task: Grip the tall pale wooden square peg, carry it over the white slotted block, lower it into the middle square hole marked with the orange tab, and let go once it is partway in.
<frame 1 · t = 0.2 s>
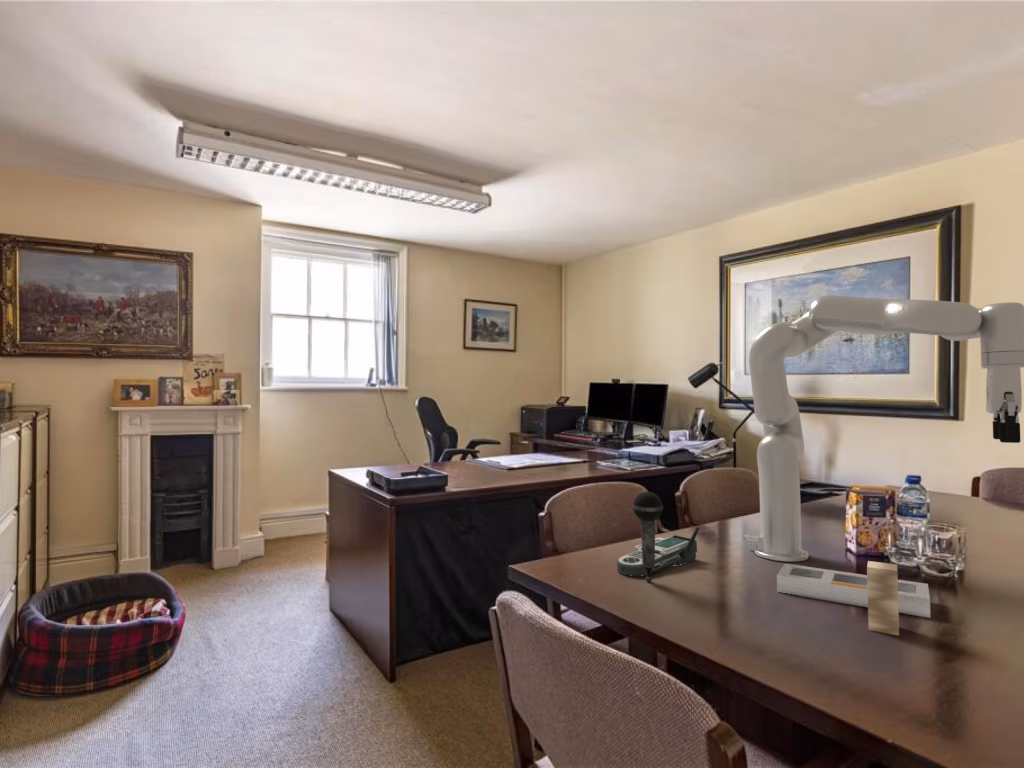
hand: (1006, 440, 121), 31 cm above the table, tool pointing down, fingers open, 9 cm apart
peg: (883, 628, 100), on the table
communication device: (653, 567, 140), on the table
microphone: (648, 582, 127), on the table
white slotted block: (850, 596, 116), on the table
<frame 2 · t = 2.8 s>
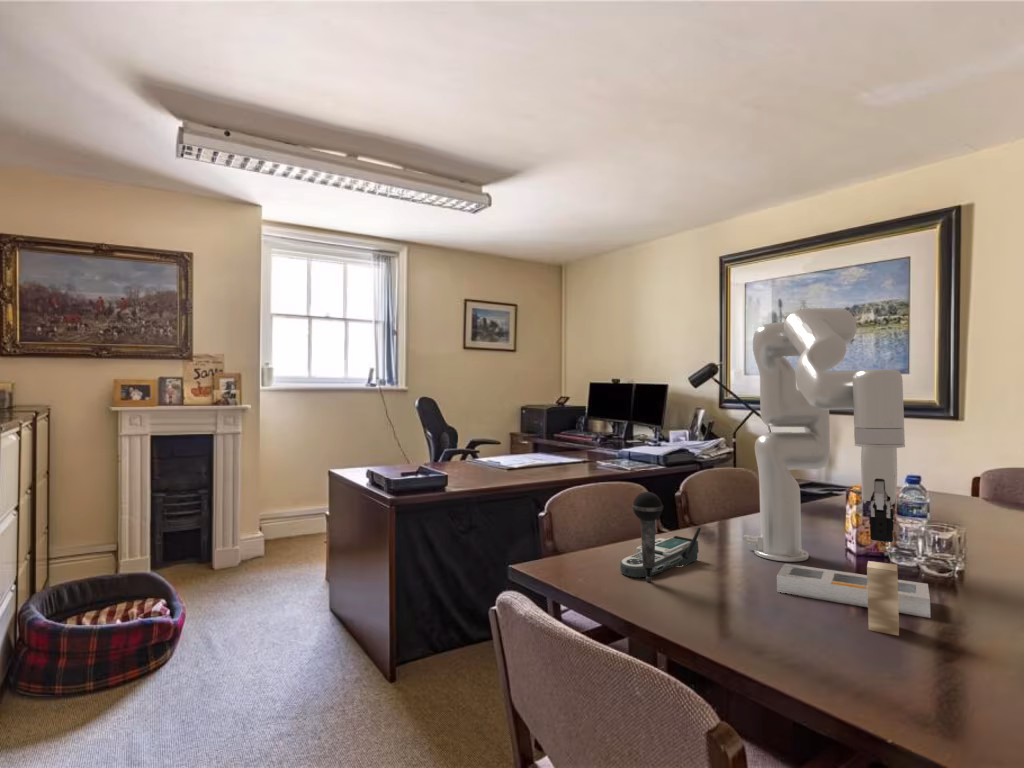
hand: (882, 535, 100), 16 cm above the table, tool pointing down, fingers open, 9 cm apart
communication device: (655, 568, 139), on the table
everything else where it was.
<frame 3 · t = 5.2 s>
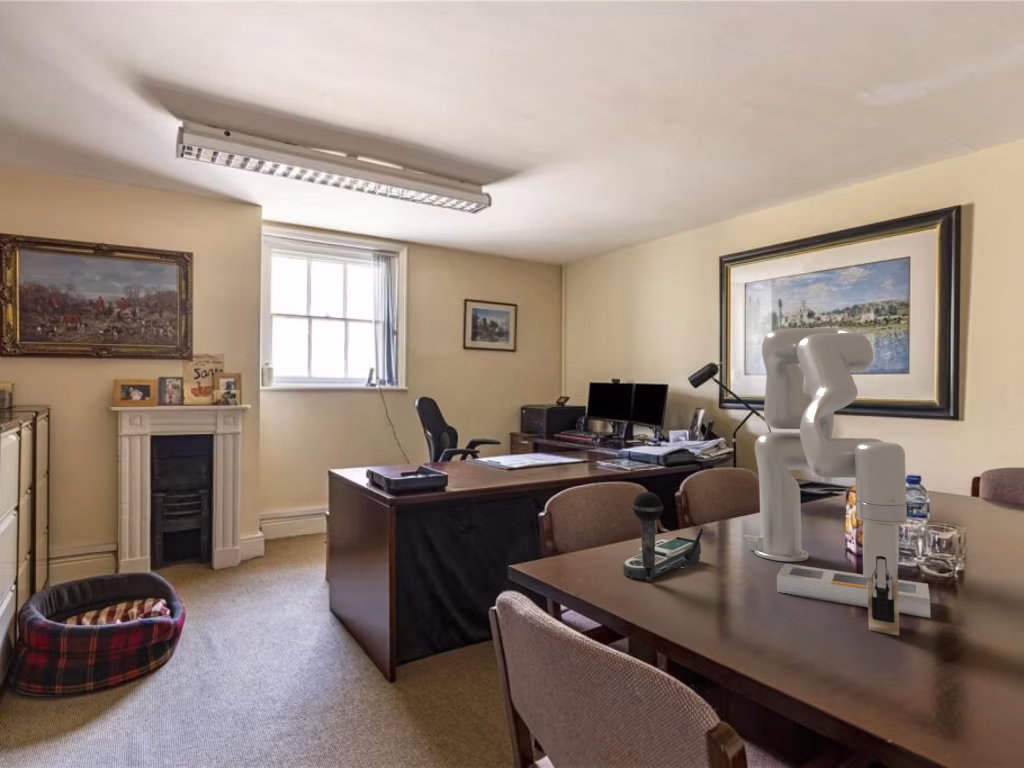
hand: (883, 614, 100), 2 cm above the table, tool pointing down, fingers closed on peg, 4 cm apart
peg: (884, 628, 100), on the table, touching gripper
communication device: (658, 569, 138), on the table
everything else where it was.
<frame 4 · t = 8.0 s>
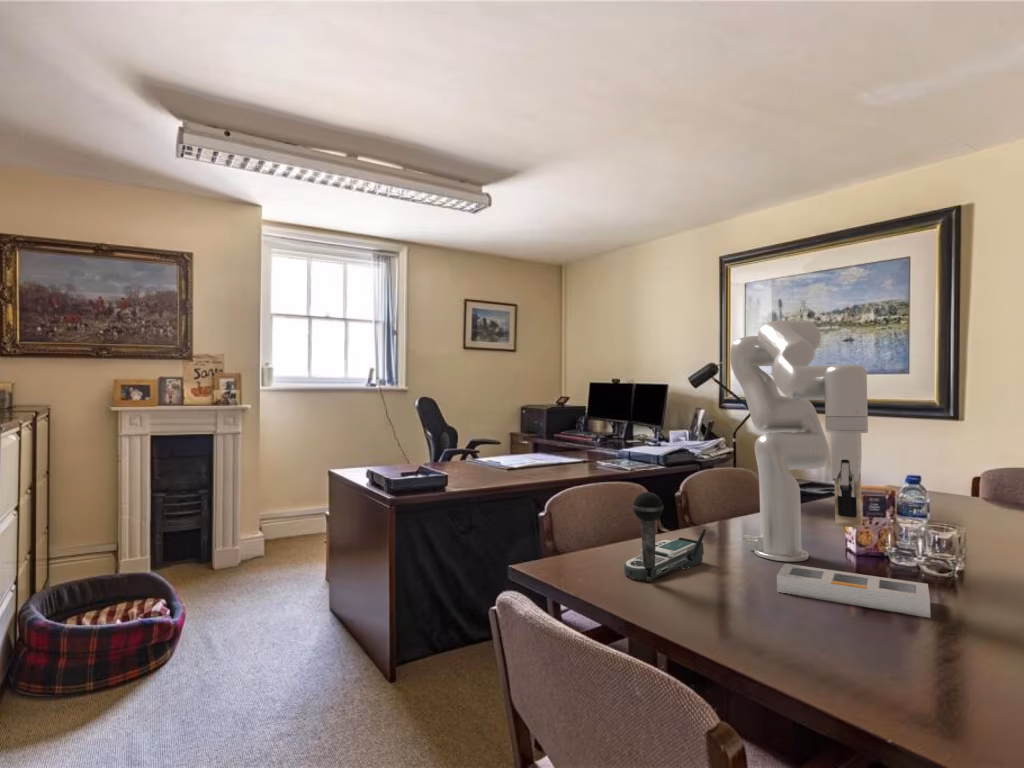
hand: (848, 513, 116), 17 cm above the table, tool pointing down, fingers closed on peg, 4 cm apart
peg: (848, 524, 116), point 15 cm above the table, touching gripper
when the fingers open (5 cm above the table, at t = 10.6 s): peg drops 2 cm, resting in white slotted block.
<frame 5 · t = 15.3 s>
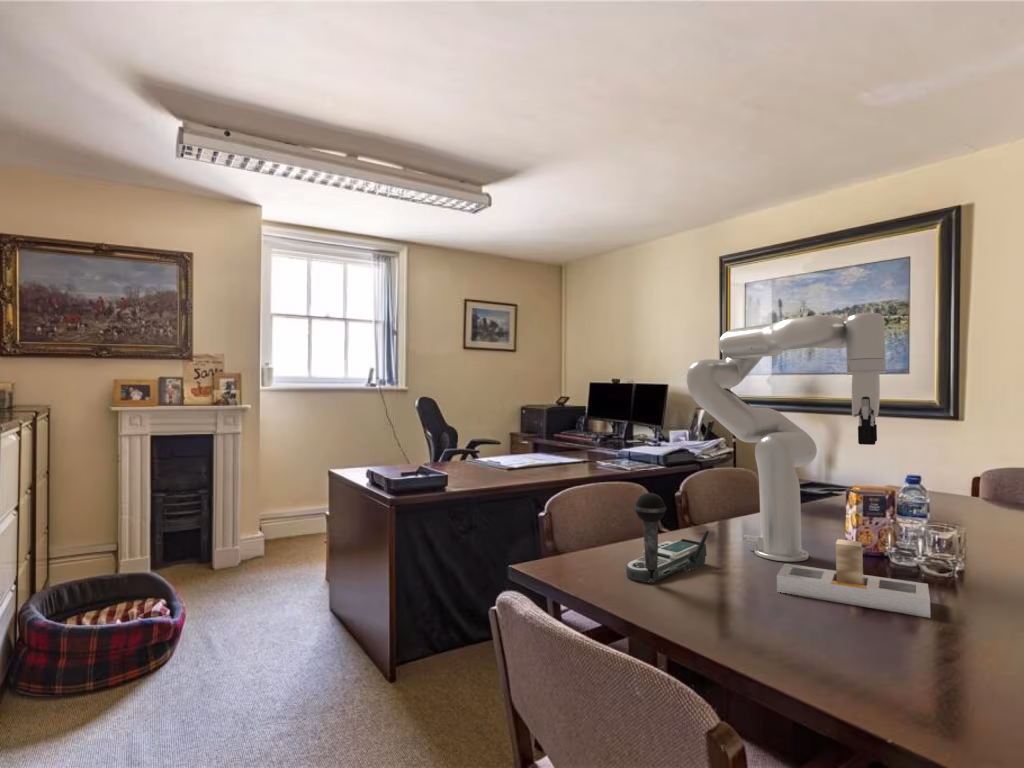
hand: (867, 442, 129), 30 cm above the table, tool pointing down, fingers open, 9 cm apart
peg: (850, 596, 116), resting in white slotted block
communication device: (662, 572, 136), on the table
microphone: (651, 584, 126), on the table
at the end: peg 0.0 cm off-centre on the white slotted block, point 0.0 cm above the white slotted block's base; peg tilted 0°; the gripper is holding nothing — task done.
